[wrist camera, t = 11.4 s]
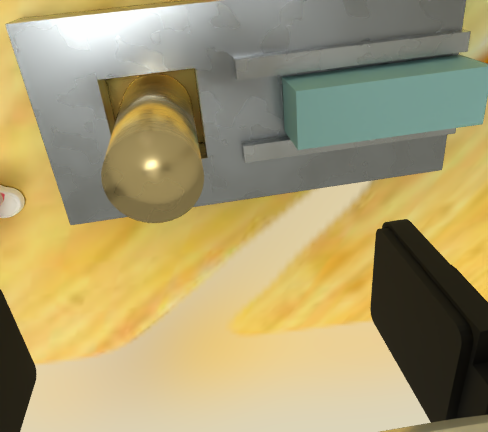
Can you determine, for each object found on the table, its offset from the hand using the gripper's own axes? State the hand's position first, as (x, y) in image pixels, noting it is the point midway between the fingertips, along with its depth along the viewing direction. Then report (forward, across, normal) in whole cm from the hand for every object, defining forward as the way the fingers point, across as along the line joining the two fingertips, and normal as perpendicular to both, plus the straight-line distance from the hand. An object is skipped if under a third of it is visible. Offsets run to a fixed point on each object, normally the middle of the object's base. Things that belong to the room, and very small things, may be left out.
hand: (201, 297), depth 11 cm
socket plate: (+18, -4, 0) cm, 18 cm away
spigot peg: (+18, +1, 0) cm, 18 cm away
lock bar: (+15, -11, 0) cm, 18 cm away
